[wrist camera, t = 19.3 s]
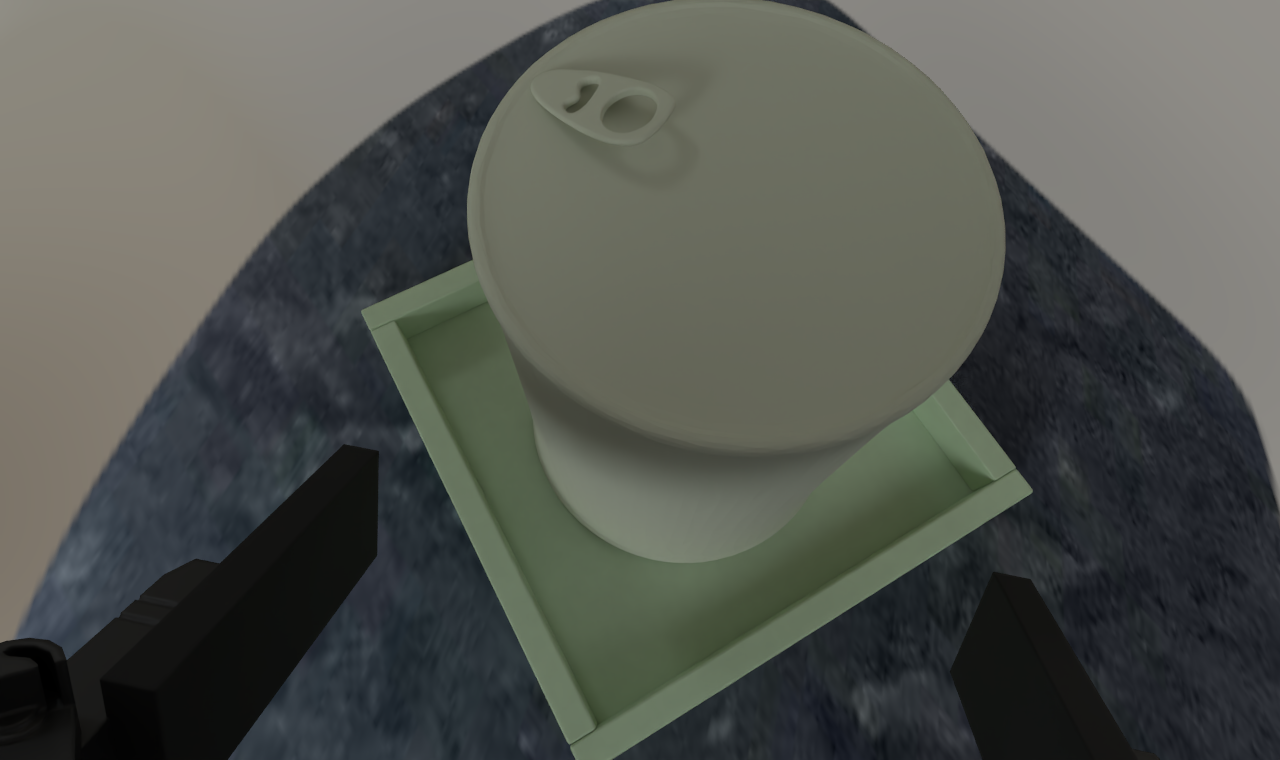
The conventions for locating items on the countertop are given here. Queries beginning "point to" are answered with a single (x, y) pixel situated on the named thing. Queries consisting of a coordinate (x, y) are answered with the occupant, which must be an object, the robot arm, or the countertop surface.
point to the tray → (649, 589)
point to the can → (726, 262)
